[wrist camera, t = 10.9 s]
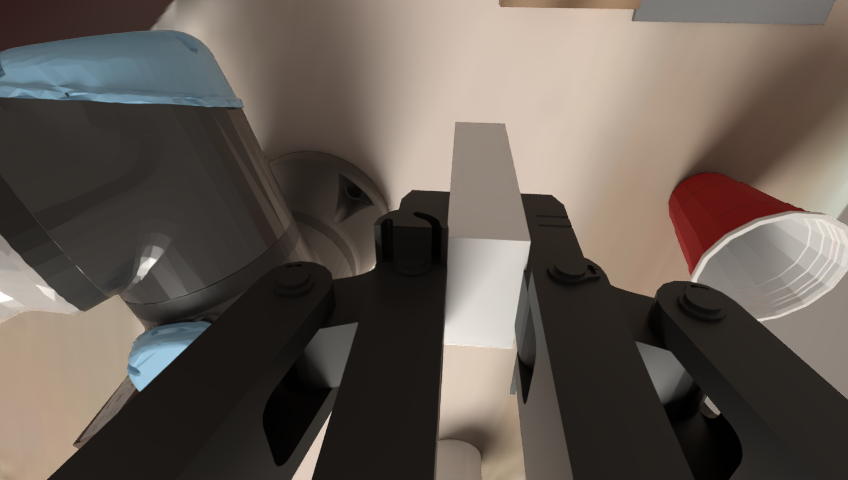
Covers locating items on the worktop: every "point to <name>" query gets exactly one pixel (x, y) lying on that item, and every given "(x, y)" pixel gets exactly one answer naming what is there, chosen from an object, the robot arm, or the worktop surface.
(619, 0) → the walnut deck
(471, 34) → the worktop surface
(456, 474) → the cup
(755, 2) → the rubber mat
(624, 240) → the worktop surface
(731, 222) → the plastic cup
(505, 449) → the worktop surface
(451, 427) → the worktop surface
